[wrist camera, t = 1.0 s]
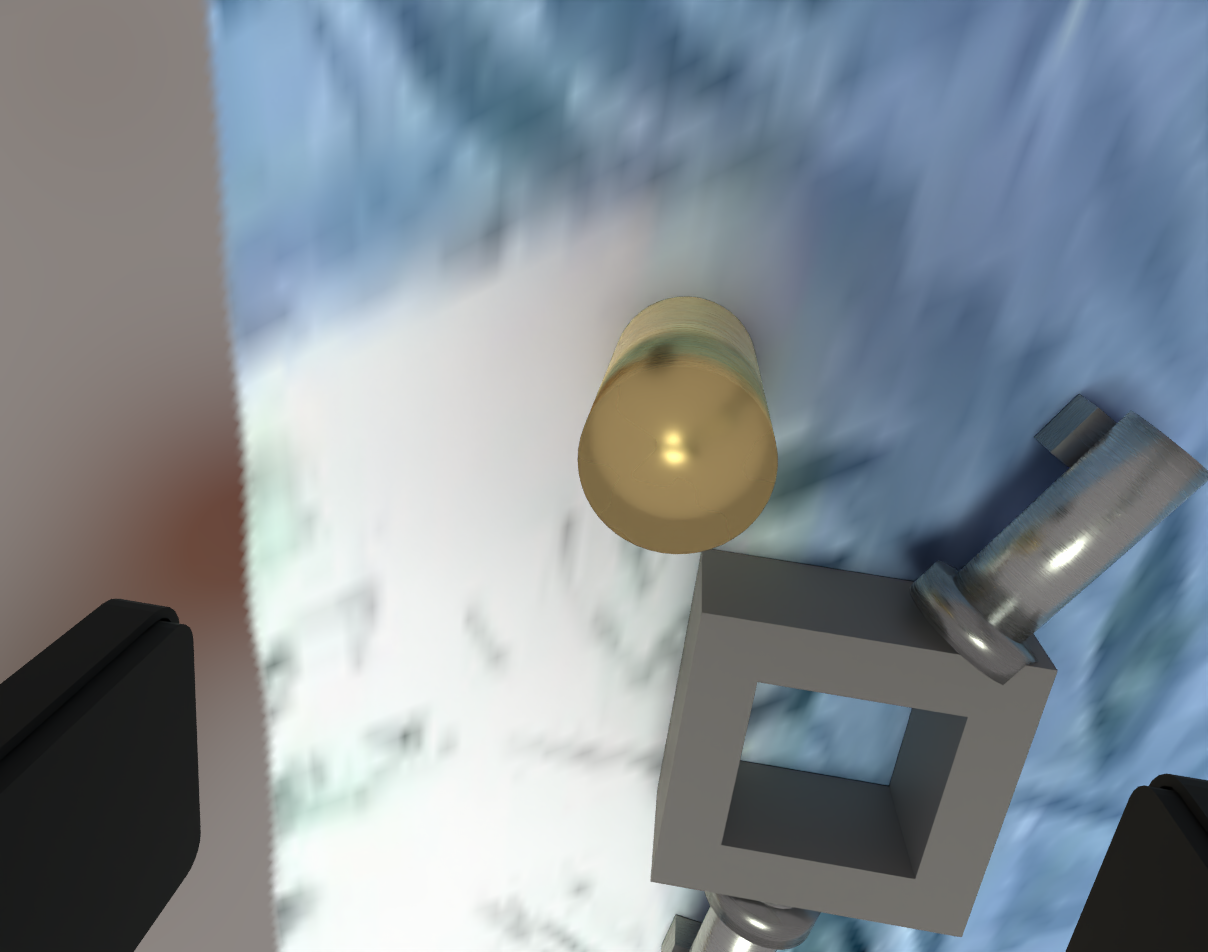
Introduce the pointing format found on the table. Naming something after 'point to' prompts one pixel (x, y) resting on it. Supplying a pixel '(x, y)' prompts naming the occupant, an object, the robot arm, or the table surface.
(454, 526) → the table surface
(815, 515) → the table surface
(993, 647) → the shaft
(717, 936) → the shaft
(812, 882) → the grey square frame
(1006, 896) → the table surface
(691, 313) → the yellow cylinder
